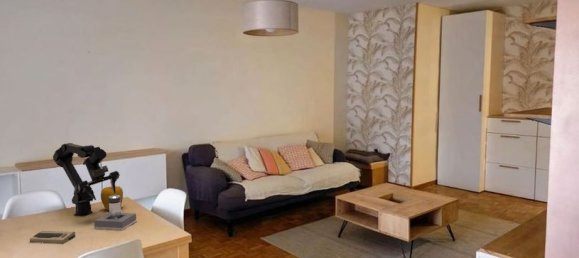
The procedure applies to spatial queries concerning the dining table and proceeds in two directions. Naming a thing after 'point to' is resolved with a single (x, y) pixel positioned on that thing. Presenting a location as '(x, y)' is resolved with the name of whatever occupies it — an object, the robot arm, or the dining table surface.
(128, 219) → the square plate with hole
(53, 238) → the computer
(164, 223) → the dining table surface
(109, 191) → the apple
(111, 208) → the shiny metal cylinder
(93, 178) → the robot arm
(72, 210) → the dining table surface
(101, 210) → the dining table surface
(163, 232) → the dining table surface
